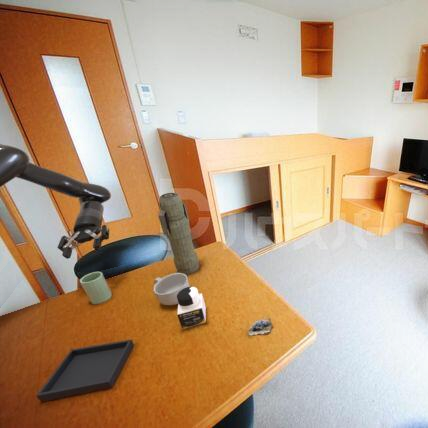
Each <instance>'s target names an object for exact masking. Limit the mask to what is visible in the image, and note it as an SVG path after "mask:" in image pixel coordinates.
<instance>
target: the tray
mask: <svg viewBox="0 0 428 428" xmlns="http://www.w3.org/2000/svg"><path fill="white" fill-rule="evenodd" d="M134 346H135V343H134V341H133V340H132V339H127V340H125V339H124V340H119V341H114V342H108V343H102V344H96V345H90V346H83V347H78V348H71V349H70V350H69V352H68V353H67V354H66V355H65V357H64V359H62V361H61V362H60V363H59V365H58V367H57V368H56V369H55V370H54V372H53V373H52V374H51V375H50V377H49V378H48V379H47V381H45V383H44V385H43V386H42V387H41V389H40V390H39V391H38V393H37V394H36V395H35V396H36V398H37V399H38V400H39V401H40V402H47V401H53V400H58V399H62V398H67V397H73V396H79V395H83V394H87V393H92V392H97V391H102V390H107V389H112V388H113V387H114V385H115V383H116V382H117V379H118V377H119V375H120V373H121V372H122V370H123V368H124V366H125V364H126V362H127V360H128V358H129V356H130V354H131V352H132V351H133V348H134Z"/></svg>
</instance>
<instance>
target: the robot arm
mask: <svg viewBox="0 0 428 428" xmlns="http://www.w3.org/2000/svg"><path fill="white" fill-rule="evenodd" d="M15 178H17V179H20V180H24V181H27V182H30V183H32V184H34V185H35V184H36V185H38V186H40V187H43V188H46V189H48V190H50V191H54V192H56V193H58V194H62V195H64V196H67V197H69V198H74V199H77V200H78V203H79V207H80V208H79V211H78V214H77V215H76V217H75V220H74V221H75V222H74V225H73V233H72V234H71V235H69V236H67V235H63V236H61V238H60V240H59V243H58V245H57V247H56V248H57V249H58V250H60V252H62V253H61V256H62V257H64V258H65V259H66V260H68V259H71V256H72V253H73V250H75V248H78V247H79V246H81V245H82V244H84V243H87V242H92V240H93V243H92V248H93V249H94V250H95V251H99V250H100V249H101V247H102V243H103V242H104V241H105V240H106V241H107V240H109V239H110V228H109V227H108V226H107V225H106V224H103V219H104V218H103V215H104V208H105V207H104V205H103V204H104V203H105V202H108V201H109V200H110V199H111V198H112V194H111V193H112V192H110V190H109V189H108V188H106V187H104V186H102V185H100V184H96V183H90V182H84V181H80V180H79V179H76V178H73V177H72V176H70V175H66V174H64V173H60V172H58V171H56V170H52V169H50V168H49V169H48V168H45V167H43V166H40V165H37V164H35V163H33V162H30V157H29V155H28V153H26V151H24V150H23V149H20V148H18V147H15V146H12V145H7V144H1V143H0V188H2V187H3V186H4V185H6V184H8V183H9V182H10V181H12V180H13V179H15ZM102 224H103V225H102ZM99 234H100V235H99Z"/></svg>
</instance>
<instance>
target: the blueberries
mask: <svg viewBox="0 0 428 428" xmlns="http://www.w3.org/2000/svg"><path fill="white" fill-rule="evenodd" d="M273 326H274V325H273V324H272V322H271V318H262V319H259V320H256V321H254V322H253V323H252V324H251V326H250V327H249V328H248V330H247V334H248V335H249V336H257V335H263V334H264V335H267V334H269V333H271V331H272V329H273V328H272V327H273Z"/></svg>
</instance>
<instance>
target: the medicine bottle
mask: <svg viewBox="0 0 428 428" xmlns="http://www.w3.org/2000/svg"><path fill="white" fill-rule="evenodd" d="M177 300H178V304H177V311H176V312H177V313H176V315H177V318H178V322H179V325H180V327H181V330H185V329H189V328H192V327H196V326H198V325H202V324H205V323H206V322H207V321H206V320H207V310H206V309H207V306H206V304H205V300H204V296H203V293H199V290H198V288H197V287H195V286H190V287H186V288H184V289H182V290H180V291H179V293H178V294H177Z"/></svg>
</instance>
